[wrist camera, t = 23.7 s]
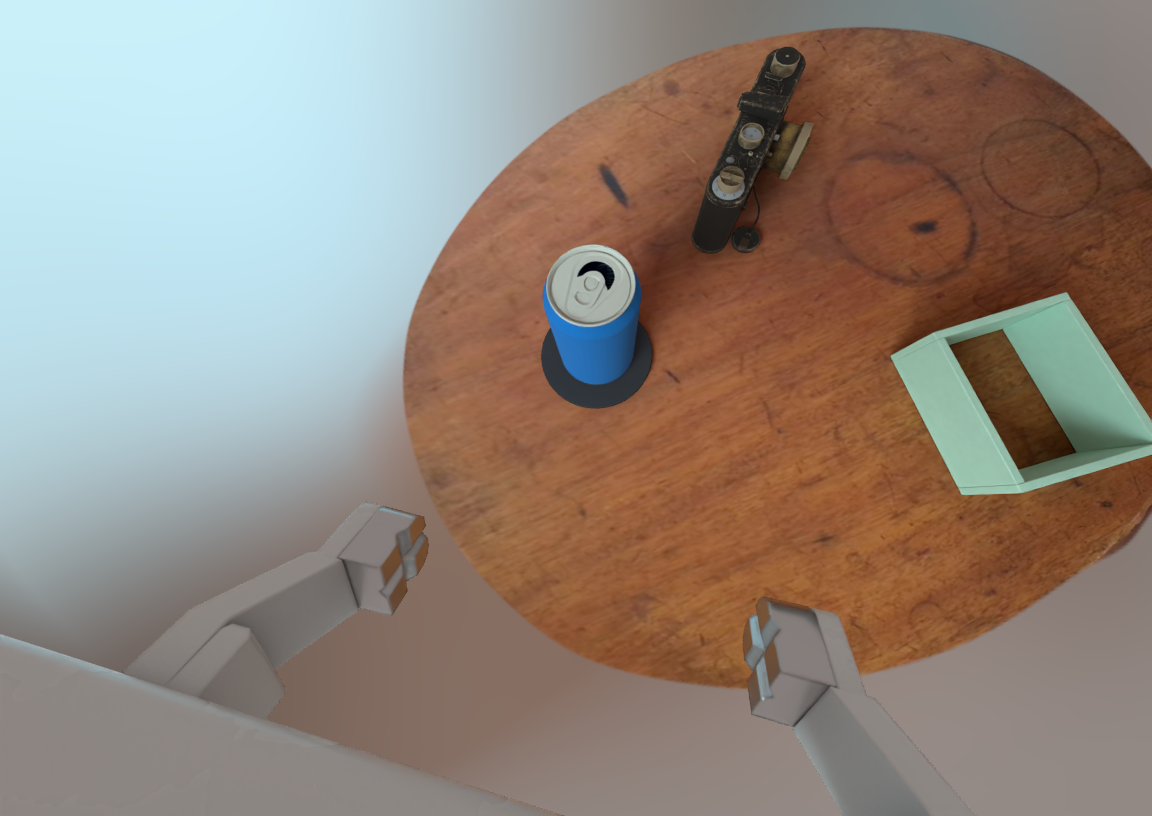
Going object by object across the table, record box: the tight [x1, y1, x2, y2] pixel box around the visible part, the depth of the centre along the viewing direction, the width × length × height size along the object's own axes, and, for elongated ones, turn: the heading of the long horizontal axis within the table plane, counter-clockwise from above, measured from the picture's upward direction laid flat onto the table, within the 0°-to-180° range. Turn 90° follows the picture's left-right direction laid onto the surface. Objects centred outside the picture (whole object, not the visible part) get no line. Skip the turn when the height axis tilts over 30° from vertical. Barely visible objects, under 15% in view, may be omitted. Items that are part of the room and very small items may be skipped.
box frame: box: [890, 292, 1152, 495], centre depth 32 cm, size 12×10×5 cm
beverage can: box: [543, 245, 641, 384], centre depth 32 cm, size 6×6×12 cm
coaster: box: [541, 321, 652, 408], centre depth 38 cm, size 10×10×1 cm
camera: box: [692, 47, 813, 254], centre depth 37 cm, size 16×7×8 cm, turn 155°
